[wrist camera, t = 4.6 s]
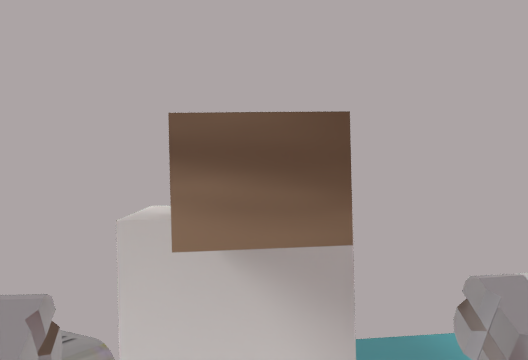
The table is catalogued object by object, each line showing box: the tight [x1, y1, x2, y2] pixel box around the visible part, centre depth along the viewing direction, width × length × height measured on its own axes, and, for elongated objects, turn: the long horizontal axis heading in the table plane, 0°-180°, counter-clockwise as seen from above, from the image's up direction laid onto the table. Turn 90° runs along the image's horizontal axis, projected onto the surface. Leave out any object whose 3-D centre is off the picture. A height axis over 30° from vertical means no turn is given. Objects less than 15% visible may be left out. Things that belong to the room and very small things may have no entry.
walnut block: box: [169, 112, 353, 253], centre depth 24 cm, size 26×4×3 cm, turn 7°
